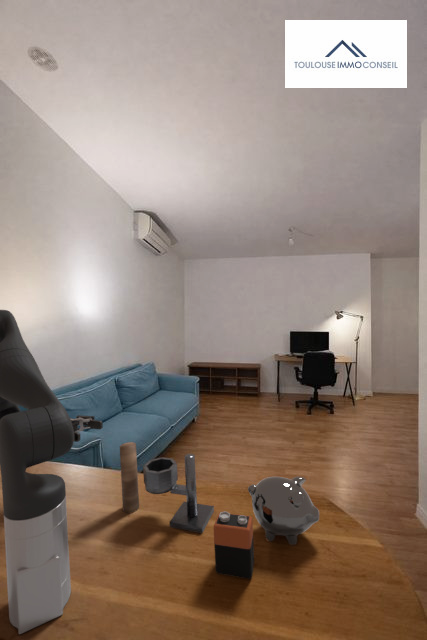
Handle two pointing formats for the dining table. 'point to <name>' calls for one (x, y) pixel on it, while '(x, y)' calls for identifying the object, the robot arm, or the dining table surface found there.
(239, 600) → the dining table surface
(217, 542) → the battery
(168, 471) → the cup bracket
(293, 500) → the piggy bank
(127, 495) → the rail post
